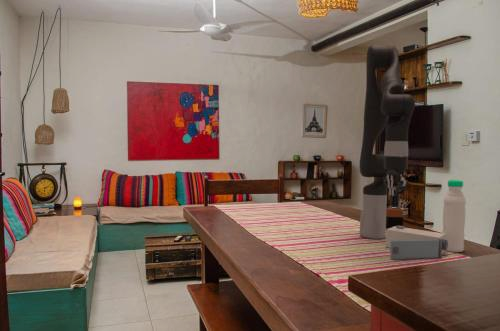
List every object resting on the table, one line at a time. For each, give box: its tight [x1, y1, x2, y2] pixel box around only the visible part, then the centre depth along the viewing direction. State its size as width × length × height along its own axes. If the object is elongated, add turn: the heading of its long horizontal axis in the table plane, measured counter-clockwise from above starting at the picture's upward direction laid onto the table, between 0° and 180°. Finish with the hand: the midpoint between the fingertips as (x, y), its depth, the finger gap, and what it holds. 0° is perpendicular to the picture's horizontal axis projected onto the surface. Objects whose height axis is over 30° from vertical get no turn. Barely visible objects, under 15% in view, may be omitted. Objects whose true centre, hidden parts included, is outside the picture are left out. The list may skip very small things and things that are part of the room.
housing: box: [385, 225, 448, 255], centre depth 142 cm, size 19×8×7 cm, turn 49°
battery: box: [386, 205, 405, 229], centre depth 178 cm, size 4×7×10 cm, turn 87°
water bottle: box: [441, 179, 467, 253], centre depth 142 cm, size 7×7×25 cm
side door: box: [389, 239, 443, 260], centre depth 131 cm, size 18×1×6 cm, turn 99°
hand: (394, 206), depth 134 cm, fingers closed
